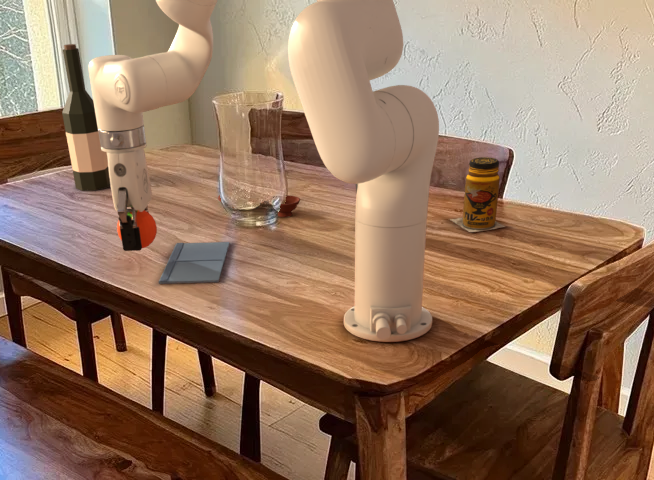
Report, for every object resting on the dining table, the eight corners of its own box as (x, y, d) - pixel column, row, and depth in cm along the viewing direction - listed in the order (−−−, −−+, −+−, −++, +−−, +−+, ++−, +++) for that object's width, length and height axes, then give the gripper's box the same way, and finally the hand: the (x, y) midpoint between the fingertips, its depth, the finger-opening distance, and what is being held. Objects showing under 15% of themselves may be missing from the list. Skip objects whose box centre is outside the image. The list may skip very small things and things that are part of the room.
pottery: (245, 195, 173) (244, 174, 170) (315, 210, 161) (315, 188, 159) (207, 208, 166) (205, 187, 163) (277, 225, 154) (276, 202, 152)
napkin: (218, 282, 130) (218, 279, 130) (158, 283, 131) (158, 281, 130) (229, 243, 146) (229, 241, 146) (176, 245, 147) (176, 242, 146)
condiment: (470, 233, 145) (476, 166, 138) (448, 220, 152) (453, 156, 145) (505, 228, 146) (513, 161, 140) (482, 215, 153) (488, 151, 147)
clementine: (150, 257, 136) (145, 216, 132) (112, 256, 137) (106, 216, 133) (164, 241, 143) (159, 202, 139) (127, 241, 144) (121, 202, 140)
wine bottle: (74, 183, 188) (48, 44, 172) (109, 179, 190) (87, 41, 173) (77, 192, 181) (51, 48, 165) (113, 188, 183) (91, 45, 167)
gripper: (134, 150, 122) (149, 258, 132) (154, 126, 137) (166, 225, 146) (87, 151, 123) (105, 259, 132) (112, 128, 137) (127, 226, 147)
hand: (137, 241), depth 139 cm, fingers closed on clementine, 8 cm apart
